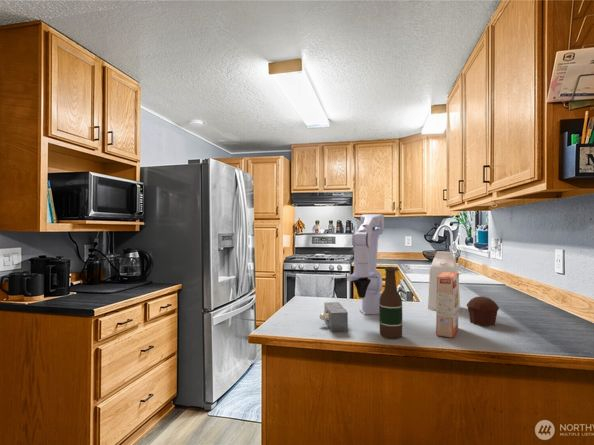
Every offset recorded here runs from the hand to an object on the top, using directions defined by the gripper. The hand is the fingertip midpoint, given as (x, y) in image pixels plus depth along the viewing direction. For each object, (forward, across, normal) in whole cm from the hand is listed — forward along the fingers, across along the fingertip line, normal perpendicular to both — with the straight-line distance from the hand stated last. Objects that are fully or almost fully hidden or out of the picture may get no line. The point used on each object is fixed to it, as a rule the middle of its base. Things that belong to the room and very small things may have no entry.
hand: (361, 297), depth 135 cm
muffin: (+11, -38, +29) cm, 49 cm away
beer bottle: (+10, +3, +16) cm, 19 cm away
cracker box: (+11, -17, +26) cm, 33 cm away
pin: (+9, +10, -6) cm, 15 cm away
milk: (+11, -48, +7) cm, 50 cm away
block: (+10, +10, -5) cm, 15 cm away
